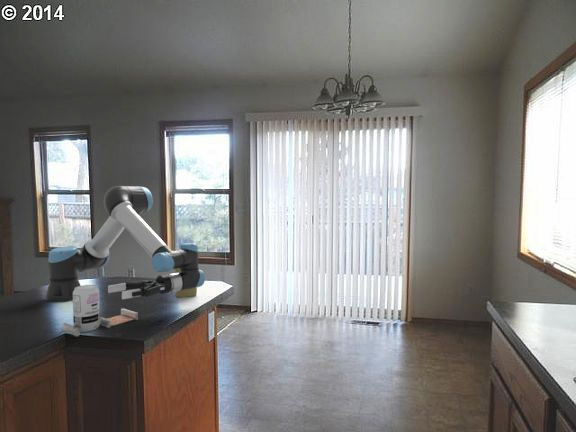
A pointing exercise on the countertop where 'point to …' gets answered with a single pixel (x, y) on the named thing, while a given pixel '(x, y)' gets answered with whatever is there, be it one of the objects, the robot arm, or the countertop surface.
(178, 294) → the cheese
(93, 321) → the sparkling water can
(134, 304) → the countertop surface
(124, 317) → the rack with upright dividers
